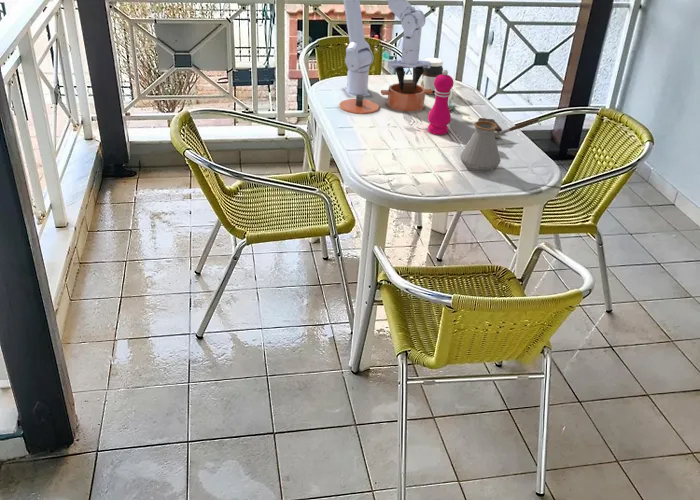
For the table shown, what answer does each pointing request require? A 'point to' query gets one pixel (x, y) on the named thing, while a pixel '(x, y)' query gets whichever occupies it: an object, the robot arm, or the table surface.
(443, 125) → the pepper mill
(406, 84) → the block
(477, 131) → the coffee pot
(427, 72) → the spread jar
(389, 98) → the pot
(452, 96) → the pacifier
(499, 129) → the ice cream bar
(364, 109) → the lid
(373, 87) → the table surface
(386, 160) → the table surface
